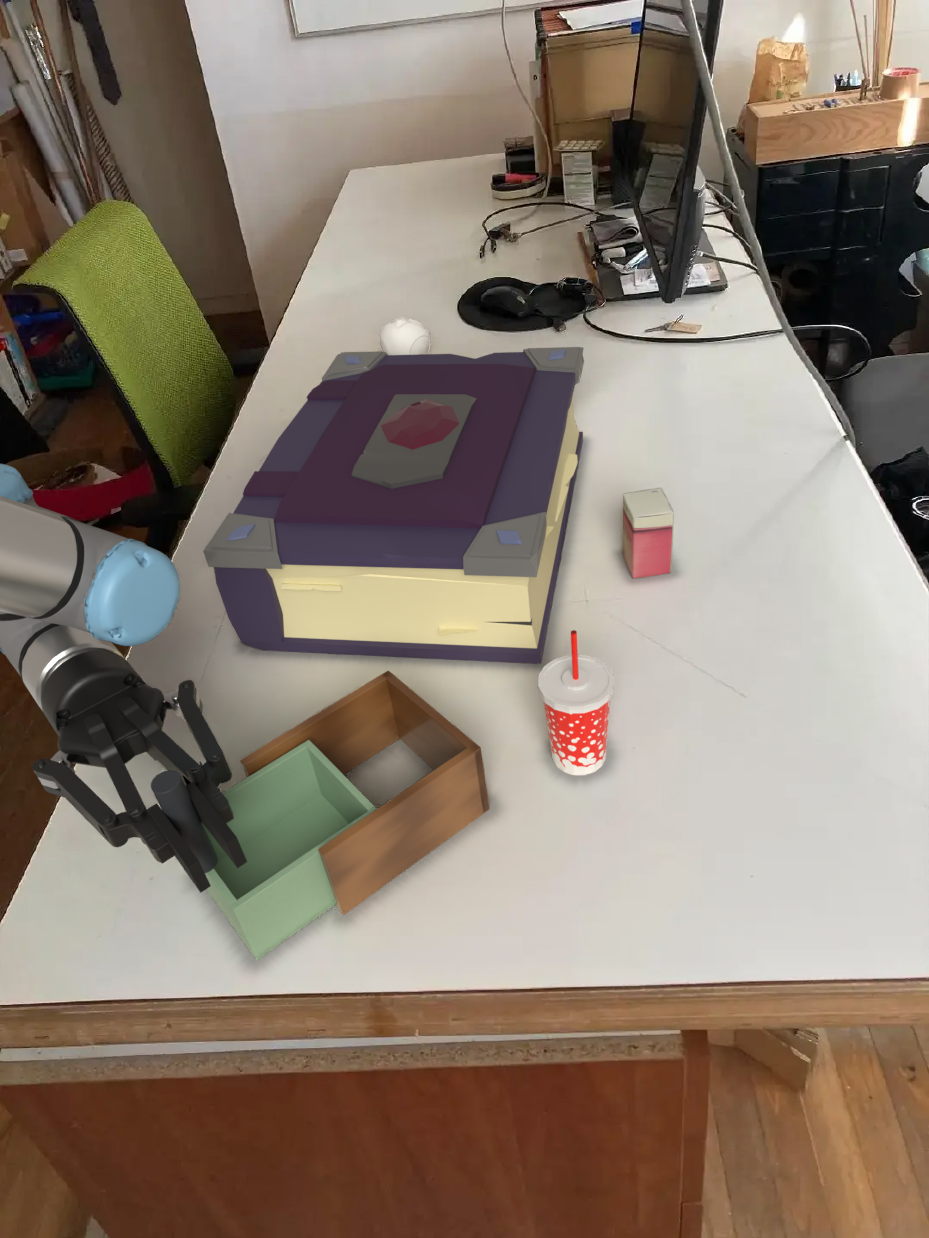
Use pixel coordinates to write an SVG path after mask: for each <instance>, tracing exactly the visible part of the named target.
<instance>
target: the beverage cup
mask: <svg viewBox="0 0 929 1238" xmlns="http://www.w3.org/2000/svg"><path fill="white" fill-rule="evenodd" d="M570 647H571V649H570V650H571V654H567V655H563V656H560V657H556V658H554V659H552V660H551V661H550V662H548V663H547V664H545V665H544V666H543V667H542V669H541V670H540V672H539V674H538V675H537V676H538V677H537V689H538V694H539V695H540V697H541V699H542V701H543V707H544V713H545V720H546V727H547V731H548V739H549V744H550V751H551V757H552V761H553V763H554V764H555V766H556V768H558V769H559V770H560V771H562V772H563V773H565V774H568V775H572V776H587V775H590V774H593V773H595V772H596V771H598V770H599V769H600V768H602V767H603V766H604V762H605V761H606V758H607V744H608V731H609V719H610V706H611V705H610V703H611V697H612V695H613V693H614V692H615V689H614V688H615V678H614V677H615V676H614V673H613V671H612V670H611V668H610V667H609V665H608V664H607V663H606V662H604V661H602V660H600V659H599V658H598V657H594V656H591V655H586V654H578V632H577V630H575V629H573V630H571V631H570Z"/></svg>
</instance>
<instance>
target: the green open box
mask: <svg viewBox="0 0 929 1238" xmlns="http://www.w3.org/2000/svg"><path fill="white" fill-rule="evenodd" d="M150 789H151V791H152V793H153V795H154V797H155V799H156V801H157V804H158V805H159V807H160V808H161V810H162V811H163V812H164V814H165V815H166V816H167V818H168V819H169V821H170V822H171V823H172V825H173V826H174V828H175V829H176V830H177V832H178V833H179V834H180V836H181V837H182V839H183V840H184V841H185V843H186V844H187V845H188V847H189V848H190V850H191V851H192V852H193V854H194V855H195V857H196V858H197V859H198V861H199V862H200V865H201V867H202V869H203V871H204V873H205V875H206V877H207V879H208V881H209V883H210V885H211V886H210V887H209V888H207V889H206V892H207V893H208V895H210V897H211V898H212V900H213V901H214V903H215V904H216V905H217V907H218V908H219V909H220V912H222V914H223V915H224V916H225V918H226V920H227V921H228V922H229V924H230V925H231V926H232V928H233V930H234V931H235V932H236V934H237V935H238V937H239V938H240V940H241V941H242V942H243V943H244V945H245V947H246V948H247V949H248V951H249V952H250V953H251V955H252V956H253V957H254V959H255V961H258V960H259V959H261V958H263V957H264V956H265V955H267V954H268V953H270V952H271V951H272V950H274V949H275V948H276V947H278V946H279V945H280V944H282V943H283V942H285V941H286V940H288V939H289V938H290V937H292V936H294V935H295V934H296V933H297V932H298V931H300V930H302V929H303V928H304V927H306V926H307V925H309V924H310V923H311V922H313V921H314V920H316V919H317V918H318V917H320V916H321V915H323V914H324V913H325V912H327V911H328V910H330V909H331V908H332V907H333V906H335V905H337V904H336V901H335V898H334V895H333V892H332V889H331V886H330V883H329V880H328V877H327V874H326V872H325V869H324V866H323V863H322V860H321V857H320V854H319V851H318V849H319V848H321V847H322V846H323V845H325V844H326V843H328V842H329V841H331V840H332V839H334V838H335V837H337V836H338V835H340V834H341V833H343V832H344V831H346V830H347V829H348V828H350V827H351V826H353V825H354V824H356V823H357V822H359V821H360V820H362V819H363V818H365V817H366V816H368V815H369V814H371V813H372V812H373V811H375V810H376V809H378V808H377V807H376V806H375V805H374V804H373V802H371V801H370V800H369V799H368V797H366V796H365V795H364V794H363V793H362V791H360V790H359V788H357V787H356V786H355V785H354V783H352V781H351V780H349V778H347V776H346V775H345V774H344V775H343V774H342V773H341V772H340V771H339V770H338V769H337V768H336V767H335V766H334V765H333V764H332V762H331V761H330V760H329V759H328V758H327V757H326V756H325V755H324V754H323V753H322V752H321V751H320V750H319V749H318V748H317V747H316V746H315V745H314V744H313V743H312V742H311V741H310V740H307V741H306V742H304V743H302V744H301V745H299V746H297V747H296V748H294V749H293V750H291V751H289V752H288V753H286V754H284V755H283V756H281V757H280V758H278V759H276V760H275V761H273V762H271V763H270V764H268V765H267V766H265V767H263V768H262V769H260V770H258V771H257V772H255V773H254V774H252V775H250V776H249V777H245V778H243V779H242V780H240V781H239V782H237V783H236V784H234V785H232V786H230V787H229V788H227V789H226V790H224V791H223V792H222V794H223V795H224V796H225V797H226V799H227V800H228V802H229V804H230V807H231V809H232V812H233V816H234V819H233V820H231V821H229V822H228V823H226V824H227V825H228V827H229V828H230V829H231V830H232V832H233V833H234V834H235V835H236V837H237V839H238V841H239V844H240V846H241V848H242V851H243V853H244V855H245V858H246V860H247V863H245V864H243V865H242V866H240V867H239V868H237V867H236V866H235V865H234V863H233V862H232V861H231V859H230V858H229V857H228V855H227V854H226V853H225V851H224V850H223V849H222V848H221V846H220V845H219V844H218V842H217V841H216V840H215V838H214V837H213V836H212V834H211V833H210V832H209V830H208V829H207V828H206V827H205V825H204V824H203V823H202V821H201V819H200V817H199V815H198V813H197V811H196V808H195V806H194V804H193V802H192V800H191V797H190V795H189V793H188V791H187V789H186V786H185V784H184V782H183V780H182V778H181V775H180V774H179V773H178V772H177V771H174V770H167V769H166V770H164V771H161V772H160V773H158V774H156V775H155V776H154V777H153V779H152V780H151V782H150Z"/></svg>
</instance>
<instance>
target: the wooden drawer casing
mask: <svg viewBox="0 0 929 1238" xmlns="http://www.w3.org/2000/svg"><path fill="white" fill-rule="evenodd" d="M307 740H310V741H311V742H312V743H313V744H314V745H315V746H316V747H317V748H318V749H319V750H320V751H321V752H322V753H323V754H324V755H325V756H326V757H327V758H328V759H329V760H330V761H331V762H332V764H333V765H334V766H335V767H336V768H337V769H338V770H339V771H340V772H341V773H342V774H343V775H344V776H345V775H346V774H347V773H349V772H351V771H353V770H354V769H356V768H357V767H358V766H360V765H361V764H363V763H365V762H367V760H369V759H372V757H374V756H375V755H377V754H379V753H380V752H381V751H383V750H384V749H386V748H388V747H390V746H391V745H392V744H394V743H396V742H397V741H399V740H400V741H401V742H403V743H404V744H405V746H407V747H408V748H409V749H410V750H411V751H412V752H413V753H415V755H417V756H418V757H419V758H420V759H421V760H422V761H423V762H424V763H426V764H427V765H428V766H429V768H431V769H432V770H433V771H431V772H430V773H428V774H427V775H425V776H423V777H422V778H420V779H419V780H417V781H416V782H414V783H413V784H412V785H410V786H408V788H406V789H404V790H403V791H401V792H399V793H398V794H397V795H395V796H394V797H392V798H391V799H390V800H388V801H387V802H385V803H384V804H382V805H381V806H379V807H378V808H377V809H376V810H375V811H373V812H372V813H371V814H369V815H368V816H366V817H365V818H363V819H362V820H360V821H359V822H357V823H356V824H354V825H353V826H351V827H350V828H348V829H347V830H346V831H344V832H343V833H341V834H340V835H338V836H337V837H335V838H334V839H332V840H331V841H329V842H328V843H326V844H325V845H323V846H322V847H321V848H319V849H318V851H319V854H320V857H321V860H322V863H323V866H324V869H325V872H326V874H327V877H328V880H329V883H330V886H331V889H332V892H333V895H334V898H335V901H336V904H335V905H336V907H337V909H338V911H339V912H340V913H341V914H342V915H343V916H344V915H346V914H348V913H349V912H350V911H351V910H353V909H354V908H356V907H357V906H358V905H360V904H361V903H363V902H364V901H366V899H368V898H370V896H372V895H374V894H375V893H377V891H378V892H379V890H380V889H382V888H383V887H385V886H387V884H389V883H390V882H391V881H394V879H395V878H397V877H398V876H399V875H401V874H403V873H404V872H405V871H407V870H408V869H409V868H411V867H412V866H413V865H415V864H416V863H417V862H419V861H420V860H422V859H423V858H425V857H426V856H428V855H429V854H431V853H432V852H433V851H435V850H436V849H437V848H439V846H441V845H442V844H444V843H445V842H446V841H448V840H449V839H451V838H452V837H454V836H455V835H456V834H457V833H459V832H460V831H462V830H464V828H466V827H468V826H469V825H470V824H472V823H473V822H475V820H477V819H478V818H480V817H481V816H482V815H484V814H485V813H486V812H488V811H489V810H490V801H489V794H488V786H487V781H486V780H487V778H486V773H485V765H484V759H483V758H484V757H483V751H482V747H481V746H480V745H479V744H477V743H476V742H475V741H474V740H473V739H472V738H470V737H469V736H468V735H467V734H465V733H464V732H463V731H462V730H461V729H459V727H457V726H456V725H454V723H452V722H451V721H450V720H449V719H447V718H446V717H445V716H444V715H442V713H441V712H440V711H438V710H436V709H435V708H434V707H433V706H432V705H430V703H428V701H426V700H424V699H423V698H422V697H421V696H420V695H419V694H417V692H415V691H414V690H413V689H411V687H409V686H408V685H406V684H405V683H404V682H403V681H402V680H401V679H400V678H398V677H397V676H396V675H395V674H393V672H391V671H390V670H387V671H384V672H383V673H382V674H380V675H378V676H376V677H374V678H373V679H371V680H370V681H368V682H366V683H365V684H363V685H362V686H360V687H358V688H356V689H355V690H353V691H352V692H350V693H348V694H346V695H345V696H344V697H341V698H340V699H339V700H337V701H334V702H333V703H332V704H330V705H328V706H327V707H324V708H323V709H322V710H320V711H318V712H317V713H315V714H313V715H312V716H310V717H309V718H307V719H305V720H303V721H302V722H300V723H298V724H297V725H295V726H293V727H292V728H290V729H289V730H287V731H285V732H284V733H282V734H281V735H279V736H277V737H275V738H274V739H272V740H270V741H268V742H267V743H266V744H264V745H262V746H261V747H259V748H258V749H256V750H254V751H251V752H250V753H249V754H247V755H246V756H244V757H243V758H240V764H241V766H242V769H243V771H244V774H245V776H246V777H245V778H247V777H249V776H250V775H252V774H254V773H255V772H257V771H258V770H260V769H262V768H263V767H265V766H267V765H268V764H270V763H271V762H273V761H275V760H276V759H278V758H280V757H281V756H283V755H284V754H286V753H288V752H289V751H291V750H293V749H294V748H296V747H297V746H299V745H301V744H302V743H304V742H306V741H307Z"/></svg>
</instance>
